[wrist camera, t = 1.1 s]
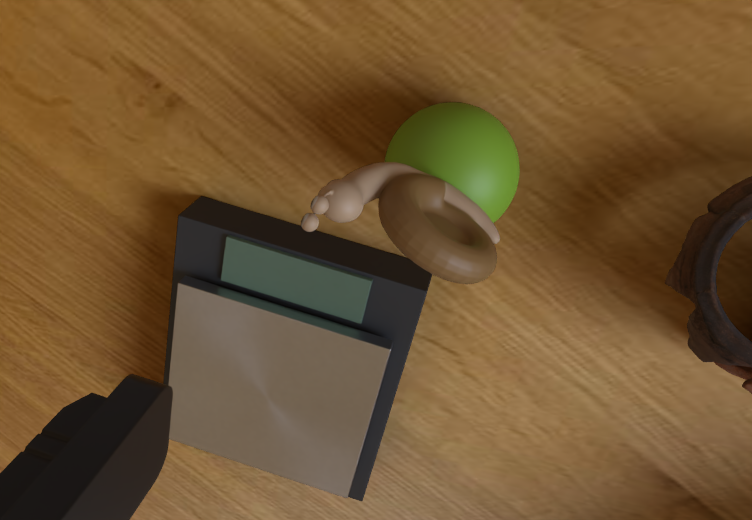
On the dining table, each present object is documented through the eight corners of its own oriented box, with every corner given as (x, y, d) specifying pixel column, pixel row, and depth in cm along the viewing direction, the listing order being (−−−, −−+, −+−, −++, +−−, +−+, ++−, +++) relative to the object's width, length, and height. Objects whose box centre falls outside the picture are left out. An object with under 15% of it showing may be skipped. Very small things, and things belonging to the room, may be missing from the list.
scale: (201, 195, 34) (175, 217, 31) (434, 266, 33) (426, 294, 30) (179, 405, 41) (156, 436, 38) (371, 469, 40) (361, 505, 37)
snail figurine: (416, 50, 28) (346, 133, 18) (546, 132, 29) (551, 258, 18) (357, 156, 31) (265, 281, 21) (476, 228, 32) (445, 387, 21)
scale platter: (185, 274, 33) (177, 282, 32) (394, 340, 32) (390, 350, 31) (170, 427, 37) (163, 437, 37) (350, 487, 37) (347, 498, 36)
